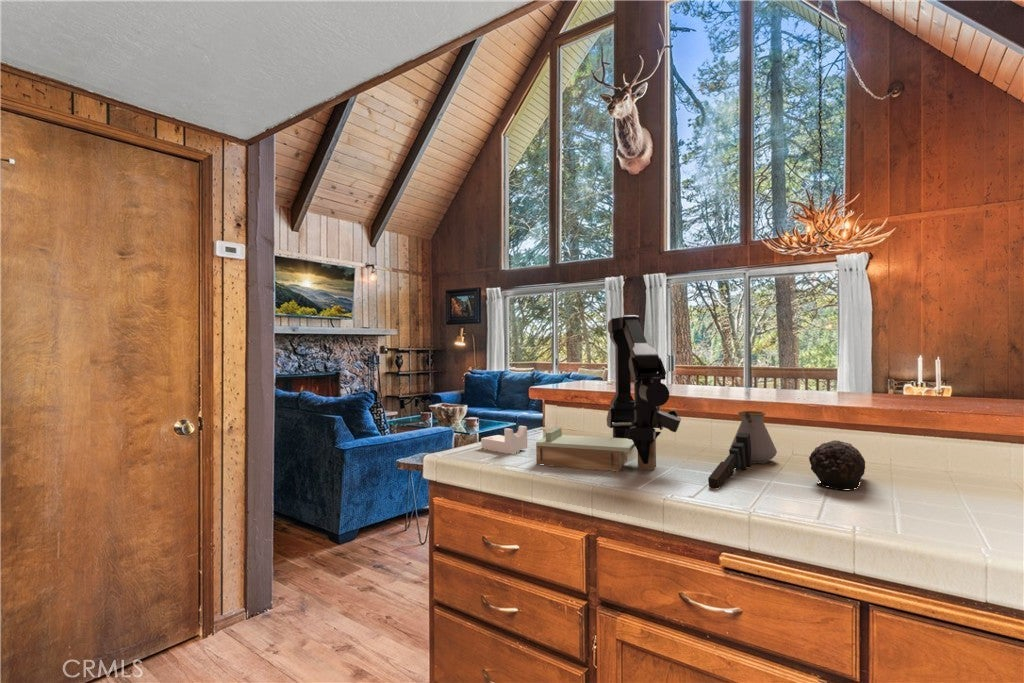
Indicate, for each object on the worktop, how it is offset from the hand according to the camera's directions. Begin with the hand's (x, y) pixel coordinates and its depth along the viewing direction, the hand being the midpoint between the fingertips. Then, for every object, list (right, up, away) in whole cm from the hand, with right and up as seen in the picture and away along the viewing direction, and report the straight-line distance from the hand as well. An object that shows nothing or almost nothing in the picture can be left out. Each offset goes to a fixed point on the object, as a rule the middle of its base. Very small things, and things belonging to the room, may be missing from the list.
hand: (646, 461), depth 136 cm
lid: (-14, +3, +6) cm, 16 cm away
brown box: (-16, -2, +7) cm, 17 cm away
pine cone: (+39, -1, -16) cm, 43 cm away
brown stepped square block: (0, -2, 0) cm, 2 cm away
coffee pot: (+28, -1, +1) cm, 28 cm away
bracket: (-37, -3, +26) cm, 46 cm away
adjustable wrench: (+17, -2, -10) cm, 20 cm away
